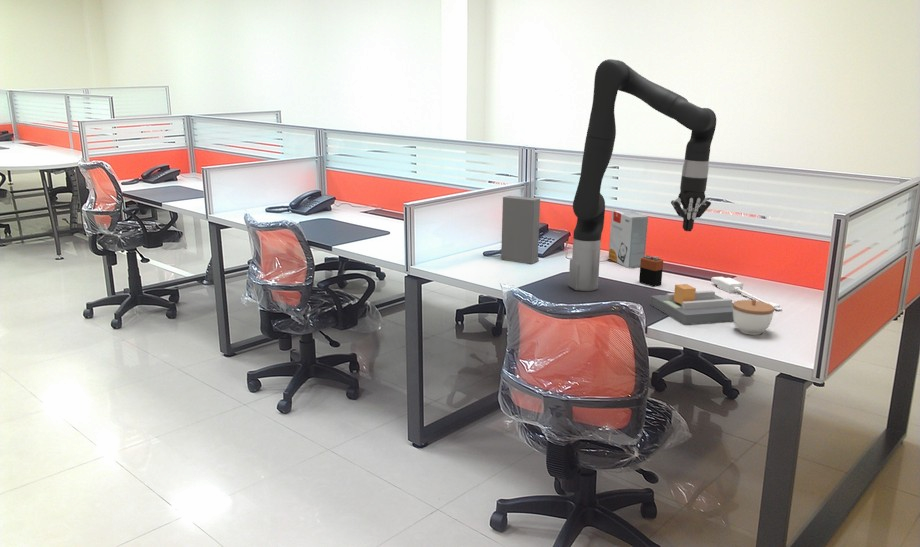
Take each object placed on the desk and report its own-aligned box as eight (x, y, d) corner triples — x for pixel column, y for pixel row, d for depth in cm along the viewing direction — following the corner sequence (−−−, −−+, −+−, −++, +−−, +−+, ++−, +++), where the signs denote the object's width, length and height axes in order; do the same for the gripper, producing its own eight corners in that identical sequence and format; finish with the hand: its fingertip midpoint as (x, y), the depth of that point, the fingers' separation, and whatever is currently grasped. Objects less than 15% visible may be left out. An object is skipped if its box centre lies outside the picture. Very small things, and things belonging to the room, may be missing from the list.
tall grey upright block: (538, 261, 280) (541, 198, 274) (531, 264, 275) (534, 200, 269) (507, 256, 287) (509, 195, 281) (500, 259, 282) (502, 197, 276)
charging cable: (772, 315, 220) (773, 305, 220) (709, 284, 250) (711, 275, 249) (785, 314, 222) (787, 304, 221) (722, 283, 252) (723, 274, 251)
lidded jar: (747, 323, 209) (751, 292, 207) (779, 334, 200) (783, 302, 198) (722, 328, 204) (725, 297, 202) (752, 340, 195) (756, 307, 193)
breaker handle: (682, 305, 214) (683, 289, 213) (673, 300, 218) (675, 284, 217) (694, 304, 215) (695, 288, 214) (685, 299, 219) (686, 284, 218)
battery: (653, 286, 246) (656, 258, 244) (638, 282, 252) (640, 255, 249) (661, 285, 249) (664, 257, 246) (646, 280, 254) (648, 253, 251)
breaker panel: (684, 324, 207) (686, 308, 206) (650, 304, 226) (651, 289, 224) (747, 320, 212) (749, 304, 211) (708, 300, 231) (710, 286, 229)
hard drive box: (607, 259, 286) (610, 209, 281) (624, 257, 288) (628, 209, 283) (627, 268, 271) (631, 216, 266) (645, 267, 274) (649, 215, 269)
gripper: (681, 176, 211) (674, 233, 216) (720, 177, 214) (713, 233, 219) (668, 173, 218) (662, 228, 223) (707, 173, 221) (699, 228, 226)
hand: (687, 230), depth 221 cm, fingers closed
